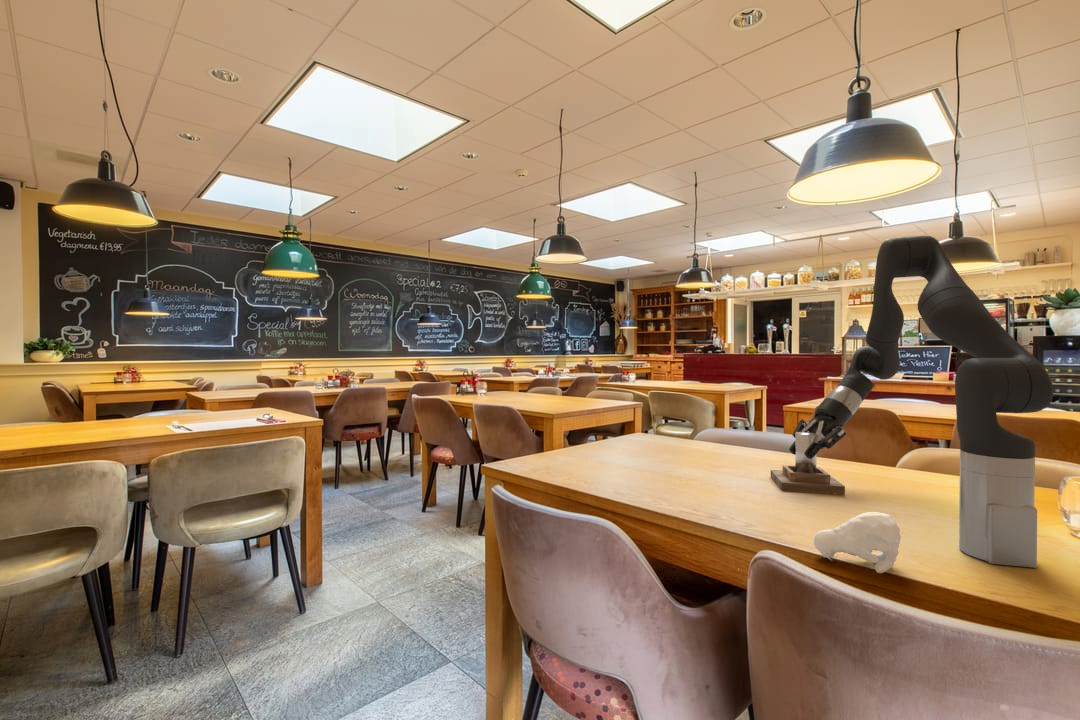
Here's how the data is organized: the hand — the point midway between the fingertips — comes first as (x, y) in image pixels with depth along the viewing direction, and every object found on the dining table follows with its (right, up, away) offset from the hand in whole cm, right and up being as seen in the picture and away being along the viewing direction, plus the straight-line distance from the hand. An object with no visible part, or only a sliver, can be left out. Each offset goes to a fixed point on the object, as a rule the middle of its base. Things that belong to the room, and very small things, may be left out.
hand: (799, 454), depth 126 cm
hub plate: (+2, -8, +1) cm, 8 cm away
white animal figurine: (-16, -9, -47) cm, 50 cm away
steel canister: (+2, -5, +1) cm, 5 cm away
